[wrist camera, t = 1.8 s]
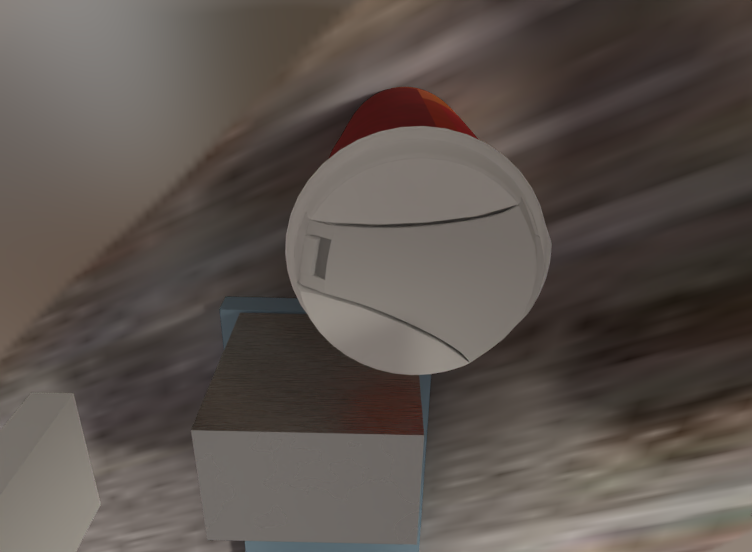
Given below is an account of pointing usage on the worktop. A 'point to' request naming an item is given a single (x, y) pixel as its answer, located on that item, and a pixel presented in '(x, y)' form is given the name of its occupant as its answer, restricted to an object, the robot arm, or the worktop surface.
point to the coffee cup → (415, 239)
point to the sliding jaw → (306, 441)
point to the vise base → (237, 305)
